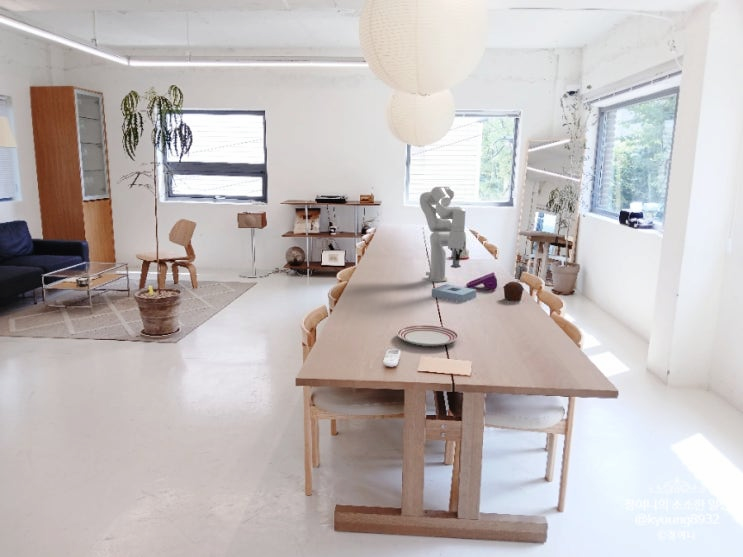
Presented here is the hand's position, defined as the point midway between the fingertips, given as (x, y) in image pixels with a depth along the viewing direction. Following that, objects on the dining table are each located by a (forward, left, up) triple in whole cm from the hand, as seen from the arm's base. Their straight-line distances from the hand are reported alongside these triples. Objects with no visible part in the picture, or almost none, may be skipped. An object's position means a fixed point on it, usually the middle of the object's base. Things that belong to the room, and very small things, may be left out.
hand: (456, 259), depth 331 cm
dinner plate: (+37, -87, -19) cm, 97 cm away
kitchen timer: (-49, +91, -19) cm, 105 cm away
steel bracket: (0, 0, -4) cm, 4 cm away
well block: (+8, -15, -18) cm, 25 cm away
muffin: (+36, +3, -19) cm, 41 cm away
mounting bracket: (+10, +15, -19) cm, 26 cm away
